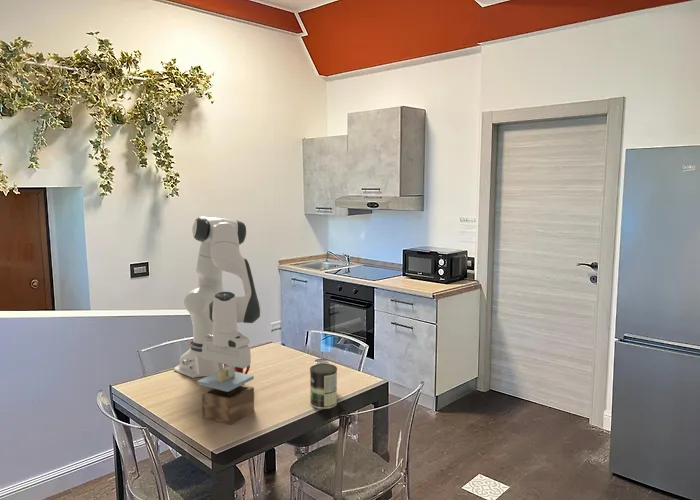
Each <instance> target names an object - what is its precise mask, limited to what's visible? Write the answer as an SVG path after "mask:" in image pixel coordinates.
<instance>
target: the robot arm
mask: <svg viewBox="0 0 700 500" xmlns="http://www.w3.org/2000/svg"><path fill="white" fill-rule="evenodd" d="M191 231H192V235H193V238H194V240H195V241H199V242H200V246H199V249H198V257H197V263H196V273H197V276H198V286H197V287H195V288H193V289H191V290H190V291H189V292H188V294H186V296H185V297H184V300H183V305H184V308H185V309H186V311H188V314H189V316H190V319H191V323H192V332H193V333H192V335H193V340H191V341H189V342H188V345H189V346H190V348H189V349H188V350H187V351H186V352H184V353H183V354H182V355H181V356H180V358H179V364H178V365H176V366H175V367H174V369H173V371H175V372H177V373H179V374H182V375H185V376H187V377H189V378H194V379H195V378H199V377H207V376H210V375H212V374H214V373H216V372H217V371H219V370H221V369H224V364H226V365H228V367H229V371H227V372H226V376H229V377H231V376H232V375H233V370H234V368H235V367H239V368H243V369H247V367H248V366H249V365H250V366H251V362H252V361H251V357H252V356H251V349H250V347H249V344H250V339H249V337H247V336H245V335H243V334H242V333H241V332H239V327H238V323H239V324H240V323H244V324H253V323H255V322H256V321H257V320H258V319H259V318H260V317H261V311H262V308H261V304H260V301H259V299H258V295H257V291H256V287H255V282H254V276H253V275H252V270H251V266H250V263H249V261H248V259H246V258H244V257H243V255H242V254H241V251H240V245H242V244H243V243H245V239H246V238H247V226H246V224H245V223H244V222H242V221H240V220H233V219H230V218H224V217H208V216H198V217H197V218H196V219H195V220H194V222H193V224H192V230H191ZM223 272H225V273H226V272H227V273H230V274H233V275H235V276H237V277H239V278H240V279H241V281H242V286H243V289H244V294H245V295H244V296H236V294H235V293H234V292H231V291H225V290H224V287H223Z"/></svg>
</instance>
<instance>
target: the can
mask: <svg viewBox="0 0 700 500" xmlns="http://www.w3.org/2000/svg"><path fill="white" fill-rule="evenodd" d="M317 364H330V361H329V359H327V358H316V359H315V360H314V363H313V365H317Z"/></svg>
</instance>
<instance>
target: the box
mask: <svg viewBox="0 0 700 500" xmlns="http://www.w3.org/2000/svg"><path fill="white" fill-rule="evenodd" d="M254 387H255V386H249V385H245V384H243V385H241V386H239V387H237V388H235V389H233V390H231V391H229V392H226V391H222V390H218V389H214V388H211V387H210V388H209V389H207V390H205V391H203V392H201V405H202V407H201V408H202V418H204V419H209V420H212V421H215V422H220V423H223V424H227V425H230V426H232V425H233V424H235V423H236V422H238V421H239V420H241V419H242V418H245V417H246V416H248V415H250V414H251V413H253V412H254V411H255V391H254V389H255V388H254Z"/></svg>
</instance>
